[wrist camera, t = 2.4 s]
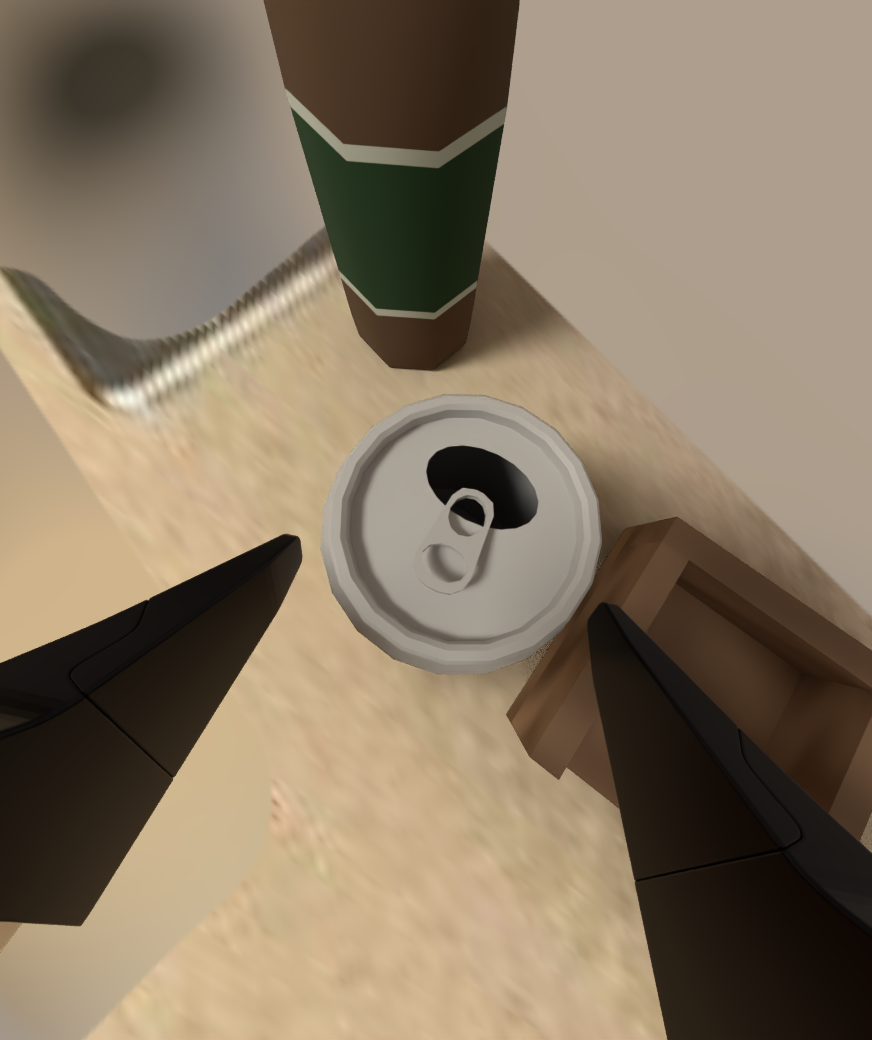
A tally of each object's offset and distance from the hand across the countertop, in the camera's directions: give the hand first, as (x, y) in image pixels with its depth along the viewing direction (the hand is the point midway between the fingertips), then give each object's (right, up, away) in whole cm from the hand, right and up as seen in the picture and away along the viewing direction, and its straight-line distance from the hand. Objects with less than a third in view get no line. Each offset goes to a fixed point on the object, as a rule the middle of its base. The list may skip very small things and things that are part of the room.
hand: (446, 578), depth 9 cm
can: (0, 0, +10) cm, 10 cm away
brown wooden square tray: (+13, -8, +8) cm, 17 cm away
